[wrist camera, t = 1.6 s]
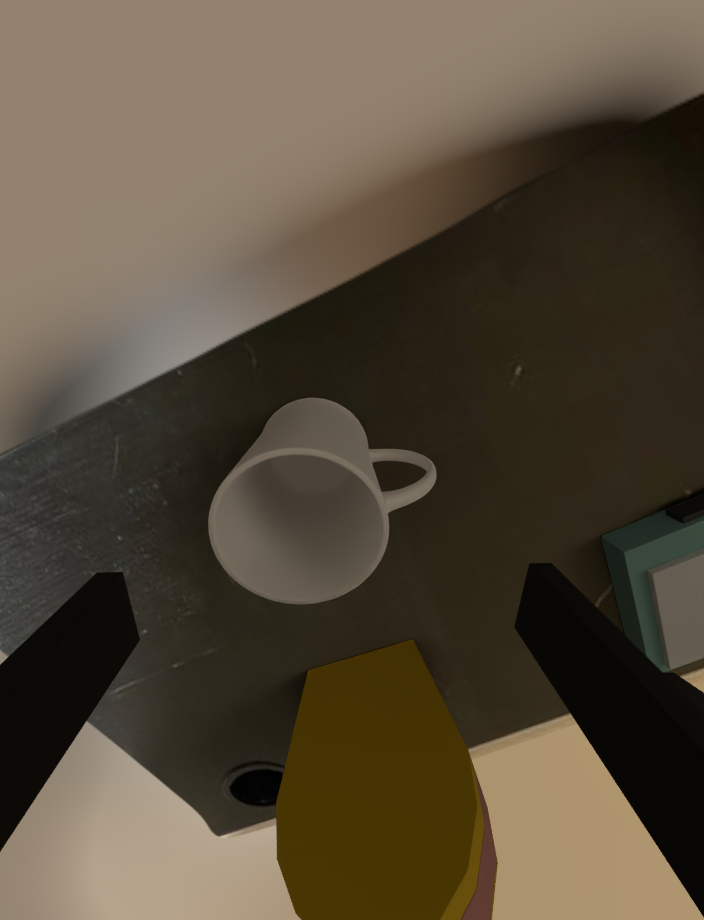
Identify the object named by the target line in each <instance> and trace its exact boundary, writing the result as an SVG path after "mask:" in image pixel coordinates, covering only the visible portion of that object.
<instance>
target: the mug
mask: <svg viewBox="0 0 704 920" xmlns="http://www.w3.org/2000/svg"><path fill="white" fill-rule="evenodd" d="M378 461H401V462H408V463H412V464H415V465H418V466H420V467H422V468H423V469H425V470H426V471H427V473H426V475H425V476H424V477H423V478H422V479H420V480H419V481H417V482H416V483H414V484H412V485H410V486H407V487H405V488H402V489H399V490H395V491H388V492H381V490H380V486H379V483H378V480H377V477H376V474H375V471H374V468H373V465H372V463H373V462H378ZM435 481H436V469H435V466H434V464H433V463H432V461H431V460H430V459H428V458H427V457H426V456H424V455H422V454H419V453H416V452H412V451H407V450H400V449H368V441H367V437H366V434H365V431H364V429H363V427H362V425H361V424H360V422H359V421H358V419H357V418H356V417H355V416H354V415H353V414H352V413H351V412H350V411H349V410H347V409H346V408H345V407H343V406H341V405H340V404H338V403H335V402H333V401H330V400H326V399H321V398H304V399H299V400H296V401H293V402H290V403H288V404H286V405H285V406H283V407H281V408H280V409H279V410H277V411H276V412H275V413H274V414H273V415H272V416H271V418H270V419H269V420H268V422H267V423H266V425H265V427H264V429H263V431H262V434H261V435H260V436H259V438H258V439H257V440H256V441H255V443H254V444H253V445H252V446H251V447H250V449H249V450H248V451H247V452H246V454H245V455H244V456H243V457H242V459H241V460H240V461H239V462H238V463H237V465H236V466H235V467H234V468H233V470H232V471H231V472H230V473H229V474H228V476H227V477H226V478H225V480H224V481H223V482H222V484H221V485H220V487H219V488H218V490H217V492H216V494H215V496H214V498H213V501H212V504H211V507H210V512H209V519H208V529H209V537H210V542H211V545H212V548H213V551H214V553H215V555H216V557H217V559H218V561H219V562H220V564H221V565H222V567H223V568H224V569H225V571H226V572H227V573H228V574H229V575H230V576H231V577H232V578H233V579H234V580H235V581H236V582H238V583H239V584H240V585H241V586H243V587H244V588H246V589H247V590H249V591H251V592H253V593H255V594H257V595H259V596H261V597H264V598H267V599H270V600H273V601H277V602H282V603H289V604H312V603H319V602H324V601H328V600H331V599H334V598H337V597H339V596H342V595H344V594H346V593H348V592H349V591H351V590H353V589H354V588H356V587H357V586H359V585H360V584H361V583H362V582H363V581H365V580H366V579H367V578H368V577H369V576H370V575H371V573H372V572H373V571H374V570H375V568H376V567H377V565H378V564H379V562H380V560H381V558H382V556H383V554H384V552H385V549H386V546H387V542H388V536H389V519H388V513H389V512H391V511H393V510H395V509H398V508H400V507H403V506H406V505H408V504H410V503H413V502H415V501H416V500H418V499H420V498H421V497H423V496H424V495H425V494H427V493H428V492H429V491H430V490H431V488H432V487H433V485H434V483H435Z"/></svg>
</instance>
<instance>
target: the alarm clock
mask: <svg viewBox="0 0 704 920" xmlns="http://www.w3.org/2000/svg"><path fill="white" fill-rule="evenodd" d="M276 820H277V860H278V863H279V866H280V869H281V872H282V874H283V878H284V880H285V883H286V886H287V889H288V892H289V895H290V898H291V901H292V903H293V907H294V910H295V912H296V914H297V915H298V916H299V917H300V918H301V920H492V912H493V902H494V893H495V892H494V891H495V882H496V872H497V857H496V852H495V847H494V841H493V835H492V830H491V824H490V819H489V814H488V808H487V805H486V802H485V799H484V796H483V793H482V790H481V787H480V784H479V781H478V778H477V775H476V772H475V769H474V766H473V763H472V760H471V757H470V754H469V751H468V749H467V747H466V745H465V743H464V741H463V739H462V737H461V735H460V733H459V731H458V729H457V727H456V725H455V723H454V721H453V719H452V717H451V715H450V713H449V711H448V709H447V707H446V705H445V703H444V701H443V699H442V697H441V695H440V693H439V691H438V689H437V687H436V684H435V682H434V680H433V678H432V676H431V674H430V672H429V670H428V668H427V666H426V664H425V662H424V660H423V658H422V656H421V654H420V652H419V650H418V648H417V646H416V644H415V642H414V640H413V639H412V640H408V641H405V642H402V643H398V644H395V645H392V646H388V647H385V648H382V649H378V650H375V651H371V652H368V653H365V654H361V655H358V656H355V657H351V658H348V659H345V660H341V661H338V662H334V663H331V664H328V665H324V666H321V667H318V668H314V669H311V670H308V673H307V677H306V681H305V686H304V690H303V694H302V698H301V702H300V707H299V711H298V715H297V719H296V723H295V727H294V732H293V736H292V740H291V744H290V748H289V753H288V757H287V761H286V765H285V769H284V774H283V778H282V782H281V786H280V790H279V794H278V799H277V803H276Z"/></svg>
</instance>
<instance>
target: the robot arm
mask: <svg viewBox="0 0 704 920" xmlns="http://www.w3.org/2000/svg"><path fill="white" fill-rule="evenodd" d="M515 629H516V631H517V632H518V634H519V635H520V637H521V638H522V640H523V641H524V643H525V644H526V646H527V647H528V649H529V650H530V652H531V653H532V655H533V657H534V658H535V660H536V661H537V663H538V664H539V666H540V667H541V669H542V670H543V672H544V673H545V675H546V676H547V678H548V679H549V681H550V683H551V684H552V686H553V687H554V689H555V690H556V692H557V693H558V695H559V696H560V698H561V699H562V701H563V702H564V704H565V705H566V707H567V709H568V710H569V712H570V713H571V715H572V716H573V718H574V719H575V721H576V722H577V724H578V725H579V727H580V728H581V730H582V732H583V733H584V735H585V736H586V738H587V739H588V741H589V742H590V744H591V745H592V747H593V748H594V750H595V751H596V753H597V754H598V756H599V758H600V759H601V761H602V762H603V764H604V765H605V767H606V768H607V770H608V771H609V773H610V774H611V776H612V777H613V779H614V780H615V782H616V784H617V785H618V786H619V788H620V790H621V791H622V793H623V794H624V796H625V797H626V799H627V800H628V802H629V803H630V805H631V806H632V808H633V810H634V811H635V813H636V814H637V816H638V817H639V819H640V820H641V822H642V823H643V825H644V826H645V828H646V829H647V831H648V832H649V834H650V836H651V837H652V839H653V840H654V841H655V843H656V845H657V846H658V848H659V849H660V851H661V852H662V854H663V855H664V857H665V858H666V860H667V862H668V863H669V865H670V866H671V867H672V869H673V871H674V872H675V874H676V875H677V877H678V878H679V880H680V881H681V883H682V885H683V886H684V888H685V889H686V890H687V892H688V893H689V895H690V897H691V898H692V900H693V901H694V903H695V904H696V906H697V907H698V909H699V911H700V912H701V914H702V915H703V917H704V693H703V692H702V691H700V690H699V689H697V688H696V687H694V686H693V685H691V684H690V683H688V682H687V681H685V680H684V679H683V678H681V677H680V676H678V675H677V674H675V673H663V672H662V671H661V670H660V669H659V668H658V667H657V666H656V665H655V664H654V663H653V662H652V661H651V660H650V659H649V658H648V657H647V656H646V655H645V654H644V653H643V652H641V651H640V650H639V649H638V648H637V647H636V646H635V645H634V644H633V643H632V642H631V641H630V640H629V639H628V638H627V637H626V636H625V635H624V634H623V633H622V632H621V631H620V630H619V629H618V628H617V627H616V626H615V625H614V624H613V623H612V622H611V621H610V620H609V619H608V618H607V617H606V616H605V615H604V614H603V613H602V612H601V611H600V610H599V609H598V608H597V607H596V606H595V605H594V604H593V603H591V602H590V601H589V600H588V599H587V598H586V597H585V596H584V595H583V594H582V593H581V592H580V591H579V590H578V589H577V588H576V587H575V586H574V585H573V584H572V583H571V582H570V581H569V580H568V579H567V578H566V577H565V576H564V575H563V574H562V573H561V572H560V571H559V570H558V569H557V568H556V567H555V566H554V565H553V564H552V563H532V564H529V567H528V572H527V576H526V580H525V584H524V588H523V593H522V597H521V601H520V605H519V610H518V614H517V618H516V622H515ZM139 640H140V638H139V634H138V630H137V626H136V623H135V619H134V615H133V611H132V607H131V603H130V599H129V595H128V591H127V587H126V583H125V579H124V576H123V572H107V573H96V574H95V575H94V576H93V577H92V578H91V579H90V580H89V581H88V582H87V583H86V584H85V585H83V586H82V587H81V588H80V589H79V590H78V591H77V592H76V593H75V594H74V595H73V596H72V597H71V598H70V599H69V600H68V601H67V602H66V603H65V604H64V605H63V606H61V607H60V608H59V609H58V610H57V611H56V612H55V613H54V614H53V615H52V616H51V617H50V618H49V619H48V620H47V621H46V622H45V623H44V624H43V625H42V626H40V627H39V628H38V629H37V630H36V631H35V632H34V633H33V634H32V635H31V636H30V637H29V638H28V639H27V640H26V641H25V642H24V643H23V644H22V645H21V646H20V647H18V648H17V649H16V650H15V651H14V652H13V653H12V654H11V655H10V656H9V657H8V658H7V659H6V660H5V661H4V662H3V663H2V664H1V665H0V851H1V850H2V848H3V847H4V845H5V844H6V842H7V840H8V839H9V837H10V836H11V835H12V833H13V832H14V830H15V828H16V827H17V825H18V824H19V822H20V821H21V819H22V818H23V816H24V815H25V813H26V812H27V810H28V809H29V807H30V806H31V804H32V803H33V801H34V800H35V798H36V797H37V795H38V794H39V792H40V790H41V789H42V788H43V786H44V784H45V783H46V781H47V780H48V778H49V777H50V775H51V774H52V772H53V771H54V769H55V768H56V766H57V765H58V763H59V762H60V760H61V759H62V757H63V756H64V754H65V753H66V751H67V750H68V748H69V747H70V745H71V744H72V742H73V741H74V739H75V737H76V736H77V734H78V733H79V731H80V730H81V728H82V727H83V725H84V724H85V722H86V721H87V719H88V718H89V716H90V715H91V713H92V712H93V710H94V709H95V707H96V706H97V704H98V703H99V701H100V700H101V698H102V697H103V695H104V694H105V692H106V690H107V689H108V687H109V686H110V684H111V683H112V681H113V680H114V678H115V677H116V675H117V674H118V672H119V671H120V669H121V668H122V666H123V665H124V663H125V662H126V660H127V659H128V657H129V656H130V654H131V653H132V651H133V650H134V648H135V647H136V645H137V643H138V642H139Z"/></svg>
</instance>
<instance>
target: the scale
mask: <svg viewBox="0 0 704 920" xmlns="http://www.w3.org/2000/svg"><path fill="white" fill-rule="evenodd" d="M601 540H602V544H603V548H604V552H605V556H606V560H607V564H608V568H609V572H610V576H611V580H612V584H613V589H614V593H615V597H616V601H617V605H618V609H619V613H620V617H621V621H622V625H623V629H624V633H625V636H626V637H627V638H628V639H629V640H630V641H631V642H632V643H633V644H634V645H635V646H636V647H637V648H638V649H639V650H640V651H641V652H643V653H644V654H645V655H646V656H647V657H648V658H649V659H650V660H651V661H652V662H653V663H654V664H655V665H656V666H657V667H658V668H659V669H660V670H661V671H662V672H663V673H664V672H666V671H669V670H672V669H675V668H677V667H680V666H683V665H686V664H688V663H691V662H694V661H697V660H699V659H702V658H704V493H703V494H701V495H698V496H696V497H694V498H691V499H689V500H686V501H684V502H681V503H679V504H677V505H674V506H672V507H669V508H667V509H665V510H662V511H660V512H657V513H655V514H653V515H650V516H648V517H645V518H643V519H640V520H638V521H636V522H633V523H631V524H628V525H626V526H624V527H621V528H619V529H616V530H614V531H611V532H609V533H607V534H604V535H602V536H601Z"/></svg>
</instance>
